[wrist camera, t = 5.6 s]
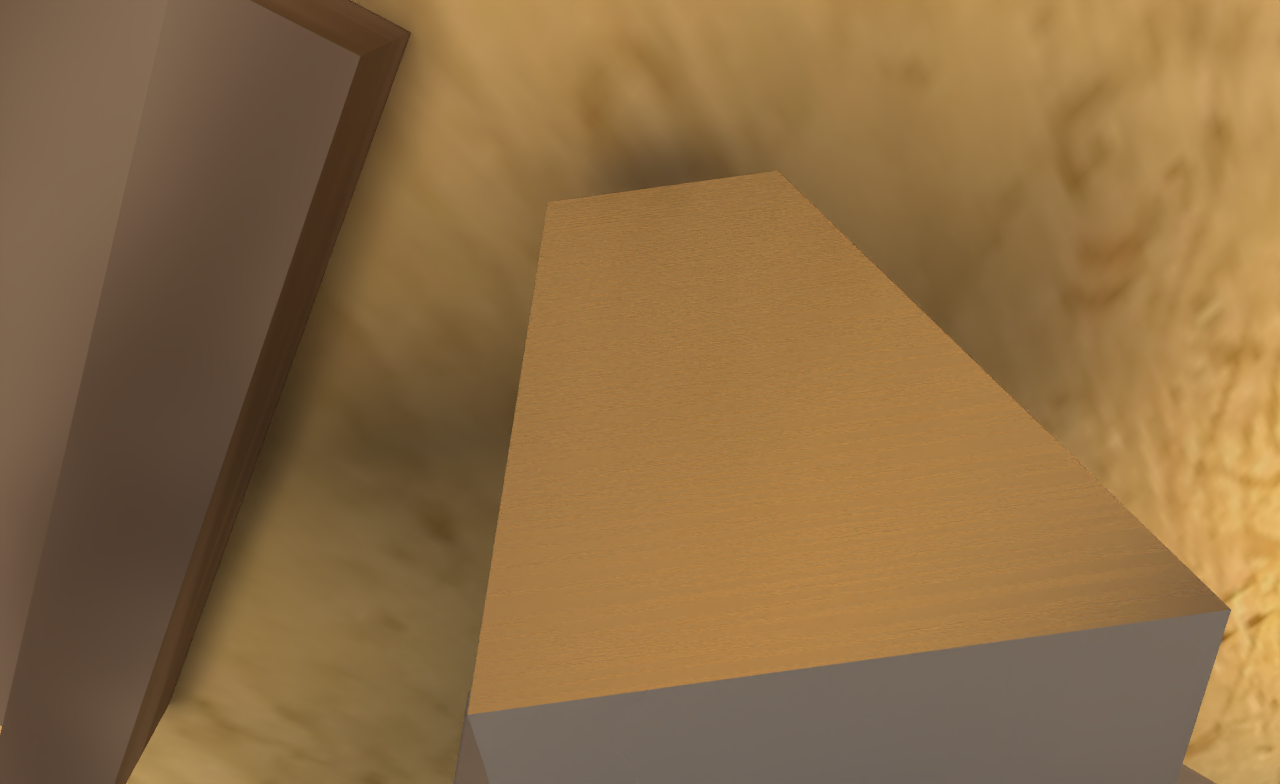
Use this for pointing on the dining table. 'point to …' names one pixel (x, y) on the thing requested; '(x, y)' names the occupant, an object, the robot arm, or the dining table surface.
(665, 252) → the light grey rectangular block
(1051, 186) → the dining table surface
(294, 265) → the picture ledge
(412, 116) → the dining table surface
